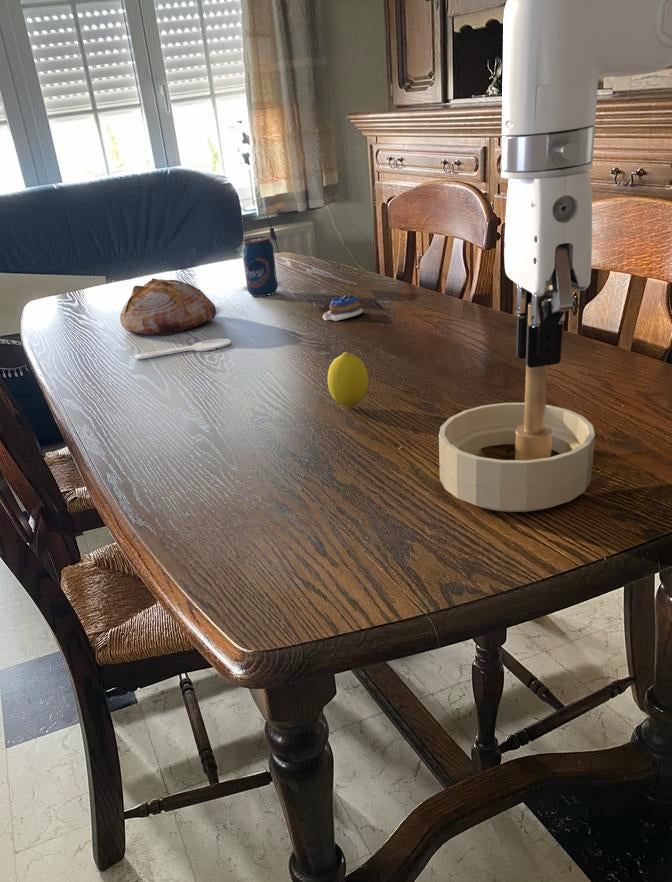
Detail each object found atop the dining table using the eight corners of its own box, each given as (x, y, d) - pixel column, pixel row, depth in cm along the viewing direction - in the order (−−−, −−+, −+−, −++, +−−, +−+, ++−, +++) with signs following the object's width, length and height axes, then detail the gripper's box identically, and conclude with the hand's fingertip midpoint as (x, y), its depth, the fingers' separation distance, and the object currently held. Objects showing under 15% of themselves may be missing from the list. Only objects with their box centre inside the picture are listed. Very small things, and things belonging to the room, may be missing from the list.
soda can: (245, 298, 169) (238, 243, 163) (251, 291, 174) (243, 237, 169) (276, 296, 167) (269, 240, 162) (280, 288, 173) (273, 234, 168)
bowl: (557, 444, 86) (560, 395, 83) (615, 506, 73) (621, 450, 70) (426, 461, 86) (425, 413, 84) (460, 526, 73) (460, 471, 70)
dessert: (364, 304, 149) (359, 284, 144) (365, 331, 146) (360, 311, 141) (325, 310, 151) (319, 290, 145) (325, 337, 148) (319, 317, 143)
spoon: (134, 354, 139) (133, 351, 139) (229, 338, 141) (229, 335, 141) (134, 362, 134) (133, 359, 134) (232, 346, 136) (232, 343, 136)
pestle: (543, 455, 80) (551, 296, 72) (555, 470, 77) (565, 305, 69) (510, 460, 80) (514, 301, 72) (521, 474, 77) (527, 310, 69)
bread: (123, 329, 161) (112, 281, 157) (213, 313, 164) (204, 266, 160) (123, 344, 147) (111, 292, 142) (222, 326, 149) (213, 275, 145)
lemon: (343, 399, 107) (338, 344, 103) (377, 403, 104) (374, 347, 100) (322, 413, 103) (317, 357, 99) (357, 418, 100) (352, 360, 96)
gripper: (632, 153, 57) (611, 382, 66) (555, 143, 71) (546, 333, 80) (535, 167, 57) (527, 393, 66) (477, 154, 71) (476, 343, 80)
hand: (537, 359), depth 73 cm, fingers closed on pestle, 2 cm apart
